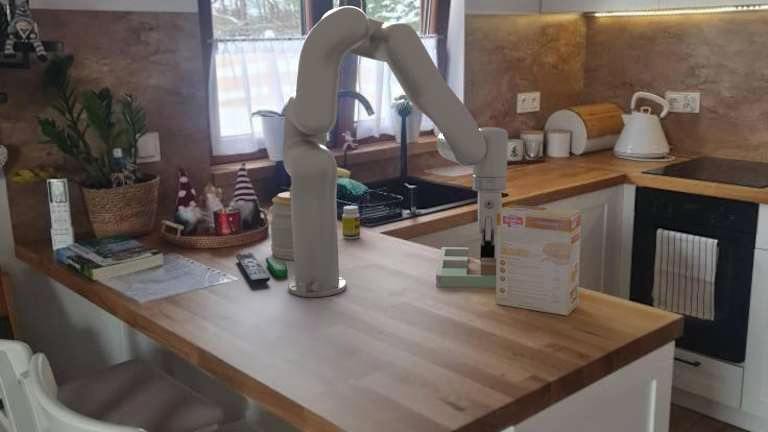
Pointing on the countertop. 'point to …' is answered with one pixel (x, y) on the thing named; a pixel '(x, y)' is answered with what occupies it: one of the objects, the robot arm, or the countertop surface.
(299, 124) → the robot arm
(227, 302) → the countertop surface
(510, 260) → the coffeecake box
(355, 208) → the supplement bottle
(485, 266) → the block
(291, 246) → the jar
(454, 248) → the trap box
